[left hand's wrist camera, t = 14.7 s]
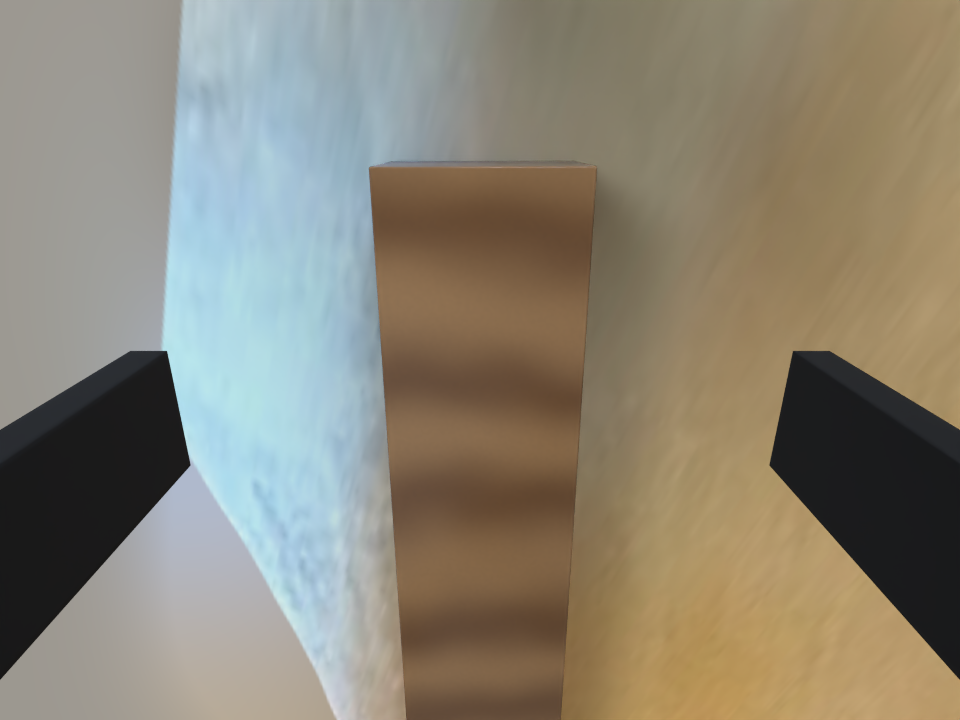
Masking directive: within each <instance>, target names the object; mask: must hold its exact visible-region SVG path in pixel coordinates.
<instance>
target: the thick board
mask: <svg viewBox="0 0 960 720" xmlns="http://www.w3.org/2000/svg"><path fill="white" fill-rule="evenodd" d="M596 176H597V166H594V165H589V164H585V163H581V162H576V161H396V162H387V163H383V164H379V165H375V166H371V167H369V177H370V192H371V206H372V221H373V235H374V250H375V265H376V279H377V294H378V308H379V323H380V338H381V352H382V367H383V382H384V396H385V411H386V425H387V440H388V455H389V469H390V484H391V498H392V513H393V528H394V542H395V557H396V572H397V586H398V601H399V615H400V630H401V645H402V659H403V674H404V688H405V703H406V718H407V720H561V707H562V692H563V677H564V662H565V646H566V631H567V616H568V601H569V586H570V571H571V555H572V540H573V525H574V510H575V495H576V479H577V464H578V449H579V434H580V419H581V404H582V388H583V373H584V358H585V343H586V328H587V312H588V297H589V282H590V267H591V252H592V236H593V221H594V206H595V191H596Z"/></svg>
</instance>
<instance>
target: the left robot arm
mask: <svg viewBox="0 0 960 720" xmlns="http://www.w3.org/2000/svg"><path fill="white" fill-rule="evenodd" d="M189 466H190V460H189V455H188V451H187V446H186V441H185V436H184V431H183V426H182V422H181V417H180V412H179V407H178V402H177V397H176V393H175V388H174V383H173V378H172V373H171V368H170V363H169V359H168V354H167V351H130V352H128V353H126V354H125V355H123V356H121V357H120V358H118V359H117V360H115V361H113V362H112V363H110V364H108V365H107V366H105V367H103V368H102V369H100V370H98V371H97V372H95V373H93V374H92V375H90V376H89V377H87V378H85V379H84V380H82V381H80V382H79V383H77V384H75V385H74V386H72V387H70V388H69V389H67V390H65V391H64V392H62V393H60V394H59V395H57V396H55V397H54V398H52V399H51V400H49V401H47V402H46V403H44V404H42V405H41V406H39V407H37V408H36V409H34V410H32V411H31V412H29V413H27V414H26V415H24V416H22V417H21V418H19V419H17V420H16V421H14V422H12V423H11V424H9V425H8V426H6V427H4V428H3V429H1V430H0V679H1V678H2V677H3V676H4V675H5V674H6V673H7V671H8V670H9V669H10V668H11V667H12V666H13V665H14V664H15V662H16V661H17V660H18V659H19V658H20V657H21V656H22V655H23V653H24V652H25V651H26V650H27V649H28V648H29V647H30V646H31V644H32V643H33V642H34V641H35V640H36V639H37V638H38V637H39V635H40V634H41V633H42V632H43V631H44V630H45V629H46V627H47V626H48V625H49V624H50V623H51V622H52V621H53V620H54V619H55V617H56V616H57V615H58V614H59V613H60V612H61V611H62V610H63V608H64V607H65V606H66V605H67V604H68V603H69V602H70V600H71V599H72V598H73V597H74V596H75V595H76V594H77V593H78V592H79V590H80V589H81V588H82V587H83V586H84V585H85V584H86V583H87V581H88V580H89V579H90V578H91V577H92V576H93V575H94V573H95V572H96V571H97V570H98V569H99V568H100V567H101V566H102V564H103V563H104V562H105V561H106V560H107V559H108V558H109V557H110V555H111V554H112V553H113V552H114V551H115V550H116V549H117V548H118V546H119V545H120V544H121V543H122V542H123V541H124V540H125V539H126V537H127V536H128V535H129V534H130V533H131V532H132V531H133V530H134V528H135V527H136V526H137V525H138V524H139V523H140V522H141V521H142V519H143V518H144V517H145V516H146V515H147V514H148V513H149V512H150V510H151V509H152V508H153V507H154V506H155V505H156V504H157V503H158V501H159V500H160V499H161V498H162V497H163V496H164V495H165V494H166V492H167V491H168V490H169V489H170V488H171V487H172V486H173V485H174V483H175V482H176V481H177V480H178V479H179V478H180V477H181V475H182V474H183V473H184V472H185V471H186V470H187V469H188V468H189ZM770 467H771V468H772V469H773V470H774V471H775V472H776V473H777V474H778V476H779V477H780V478H781V479H782V480H783V481H784V482H785V483H786V485H787V486H788V487H789V488H790V489H791V490H792V491H793V492H794V494H795V495H796V496H797V497H798V498H799V499H800V500H801V501H802V503H803V504H804V505H805V506H806V507H807V508H808V509H809V510H810V512H811V513H812V514H813V515H814V516H815V517H816V518H817V519H818V521H819V522H820V523H821V524H822V525H823V526H824V527H825V528H826V530H827V531H828V532H829V533H830V534H831V535H832V536H833V537H834V539H835V540H836V541H837V542H838V543H839V544H840V545H841V546H842V548H843V549H844V550H845V551H846V552H847V553H848V554H849V555H850V557H851V558H852V559H853V560H854V561H855V562H856V563H857V564H858V566H859V567H860V568H861V569H862V570H863V571H864V572H865V574H866V575H867V576H868V577H869V578H870V579H871V580H872V581H873V583H874V584H875V585H876V586H877V587H878V588H879V589H880V590H881V592H882V593H883V594H884V595H885V596H886V597H887V598H888V599H889V601H890V602H891V603H892V604H893V605H894V606H895V607H896V608H897V610H898V611H899V612H900V613H901V614H902V615H903V616H904V617H905V619H906V620H907V621H908V622H909V623H910V624H911V625H912V626H913V628H914V629H915V630H916V631H917V632H918V633H919V634H920V635H921V637H922V638H923V639H924V640H925V641H926V642H927V643H928V644H929V646H930V647H931V648H932V649H933V650H934V651H935V652H936V653H937V655H938V656H939V657H940V658H941V659H942V660H943V661H944V662H945V664H946V665H947V666H948V667H949V668H950V669H951V670H952V671H953V673H954V674H955V675H956V676H957V677H958V678H959V679H960V430H959V429H957V428H956V427H954V426H952V425H951V424H949V423H948V422H946V421H944V420H943V419H941V418H939V417H938V416H936V415H934V414H933V413H931V412H929V411H928V410H926V409H924V408H923V407H921V406H919V405H918V404H916V403H914V402H913V401H911V400H910V399H908V398H906V397H905V396H903V395H901V394H900V393H898V392H896V391H895V390H893V389H891V388H890V387H888V386H886V385H885V384H883V383H881V382H880V381H878V380H877V379H875V378H873V377H872V376H870V375H868V374H867V373H865V372H863V371H862V370H860V369H858V368H857V367H855V366H853V365H852V364H850V363H848V362H847V361H845V360H843V359H842V358H840V357H839V356H837V355H835V354H834V353H832V352H830V351H793V354H792V359H791V363H790V368H789V373H788V378H787V383H786V388H785V392H784V397H783V402H782V407H781V412H780V417H779V422H778V426H777V431H776V436H775V441H774V446H773V451H772V455H771V460H770Z"/></svg>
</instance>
